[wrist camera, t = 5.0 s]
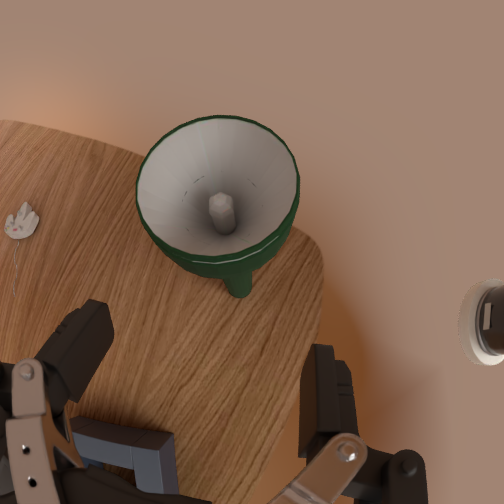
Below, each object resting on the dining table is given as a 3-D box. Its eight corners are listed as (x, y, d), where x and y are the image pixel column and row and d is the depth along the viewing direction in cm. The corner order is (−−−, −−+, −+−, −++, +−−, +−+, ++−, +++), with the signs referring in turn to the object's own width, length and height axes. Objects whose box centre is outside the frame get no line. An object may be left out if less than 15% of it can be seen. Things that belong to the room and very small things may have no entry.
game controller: (41, 199, 30) (30, 191, 28) (47, 284, 27) (33, 280, 25) (12, 215, 30) (1, 208, 27) (16, 297, 27) (3, 293, 24)
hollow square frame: (173, 433, 24) (158, 450, 19) (182, 516, 21) (171, 540, 16) (78, 415, 24) (52, 425, 19) (91, 495, 21) (72, 512, 16)
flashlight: (251, 324, 27) (251, 298, 7) (202, 298, 27) (101, 213, 8) (276, 275, 28) (329, 149, 9) (229, 251, 28) (191, 95, 9)
